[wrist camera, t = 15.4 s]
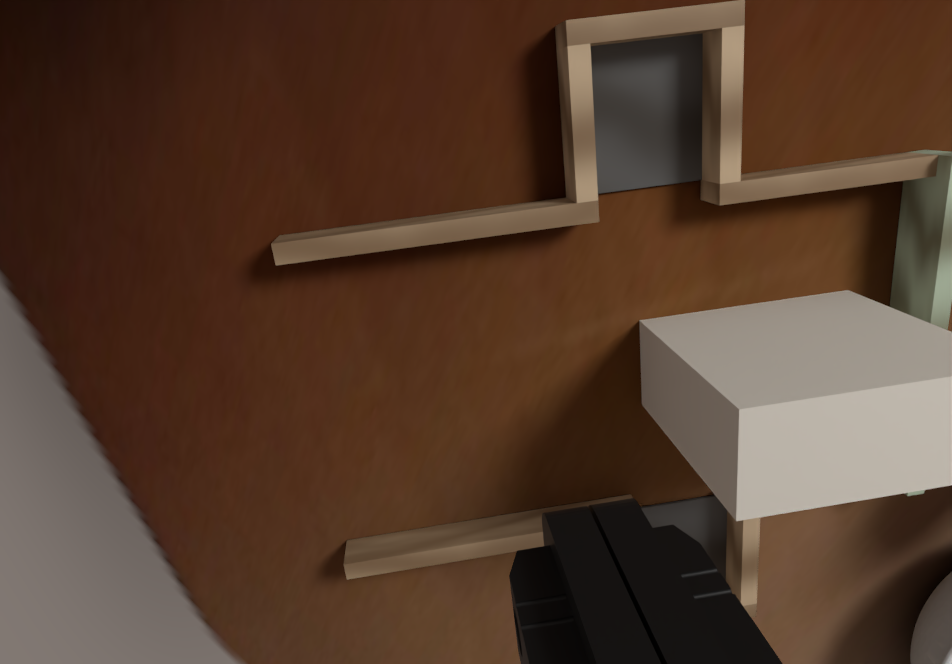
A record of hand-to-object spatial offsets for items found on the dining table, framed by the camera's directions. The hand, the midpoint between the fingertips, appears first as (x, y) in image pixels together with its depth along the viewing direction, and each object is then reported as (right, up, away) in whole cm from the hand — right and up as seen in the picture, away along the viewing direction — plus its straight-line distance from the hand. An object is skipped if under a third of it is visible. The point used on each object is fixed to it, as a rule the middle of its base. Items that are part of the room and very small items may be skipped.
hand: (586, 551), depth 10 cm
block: (+16, +3, +32) cm, 36 cm away
